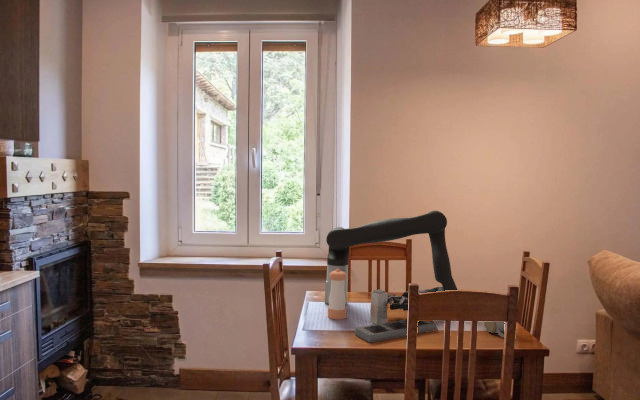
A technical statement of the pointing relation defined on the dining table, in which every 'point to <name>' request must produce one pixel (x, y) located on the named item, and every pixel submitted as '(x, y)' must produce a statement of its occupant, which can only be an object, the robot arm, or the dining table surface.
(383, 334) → the grey compartment tray
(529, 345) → the dining table surface
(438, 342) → the dining table surface
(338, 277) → the pepper mill
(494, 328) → the ceramic mug
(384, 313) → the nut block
